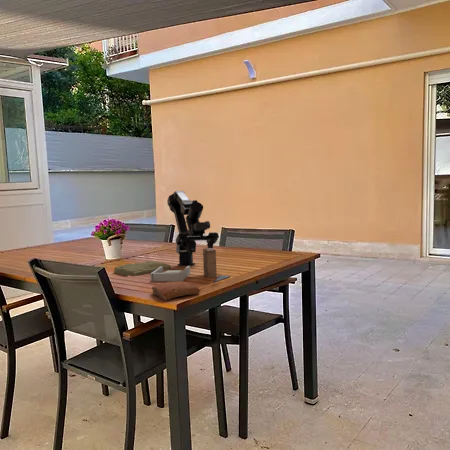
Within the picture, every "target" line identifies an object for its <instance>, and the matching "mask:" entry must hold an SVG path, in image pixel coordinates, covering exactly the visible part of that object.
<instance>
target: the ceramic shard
mask: <svg viewBox="0 0 450 450" xmlns="http://www.w3.org/2000/svg"><path fill="white" fill-rule="evenodd" d="M151 290H152V295H153V296H156V297H159V298H160V300H162V301H163V302H167V301H169V300H172V299H174V298H178V297H182V296H191V295H192V296H193V295H200V292H201V289H200V288H199V286H198V285H196V284H195V283H192V282H186V281H166V282H161V283H158V284H156V285H154V286H153V285H152V286H151Z"/></svg>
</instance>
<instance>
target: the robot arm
mask: <svg viewBox="0 0 450 450" xmlns="http://www.w3.org/2000/svg"><path fill="white" fill-rule="evenodd" d="M166 202H167V203H166V204H167V206H169V211H171V212H172V213H173V214H174V219H175V221H176V222H175V223H176V226H177V232H178V234H177V237H175V244H176V247H175V250H176V253H177V254H178V255H179V256H178V257H179V258H178V259H179V260H178V262H179V263H177V266H180V267H187V266H190V267H191V266H193V265H196V263H195V262H194V259H193V253H196V249H197V242H198V241H200V242H201V241H206V243H207V244H206V246H207V248H212V249H214V245H215V244H216V243H217V241H218V240H219V239H220V236H219V235H220V234H219V233H218V232H217V231H216V232H209V233H208V234H207V235H204V234H205V233H206V232H205V231H207V230H209V229H210V228H211V224H210V223H211V222H210V221H209V220H206V221H204V222H203V221H200V218H201V216H202V214H203V210H204V205H203V204H202V203H201V202H198V200H197V199H195V200H191V199H189V197H188V196H187V195H186V192H185V191H183V190H175V191H174V192H173V193H171V194H169V195H168V198H167V201H166ZM196 241H197V242H196Z"/></svg>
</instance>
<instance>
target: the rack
mask: <svg viewBox="0 0 450 450" xmlns="http://www.w3.org/2000/svg"><path fill="white" fill-rule="evenodd" d="M149 274H150V282H177V281H180V282H184V280H185V279H186V278H187V277H189V275H190V274H191V265H190V266H185V268H184V269H182V272H181V273H164V270H163V266H160V267H159V268H157V269H156V270H155V271H153V272H151V273H149Z"/></svg>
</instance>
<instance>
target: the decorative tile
mask: <svg viewBox="0 0 450 450" xmlns="http://www.w3.org/2000/svg"><path fill="white" fill-rule="evenodd" d="M160 266H163V271H165V270H166V271H167V270H171V269H172V267H171V265H170V264H168V263H165V262H159V261H155V260H148V261H144V262H135V263H126V264H124V265H123V264H121V265H119V266H114V269H113V273H114V274H118V275H121V276H124V277H129V276H133V277H137V276H141V275H145V274H151V273H152V272H153V271H155V270H156V269H157V268H159V267H160Z"/></svg>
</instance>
